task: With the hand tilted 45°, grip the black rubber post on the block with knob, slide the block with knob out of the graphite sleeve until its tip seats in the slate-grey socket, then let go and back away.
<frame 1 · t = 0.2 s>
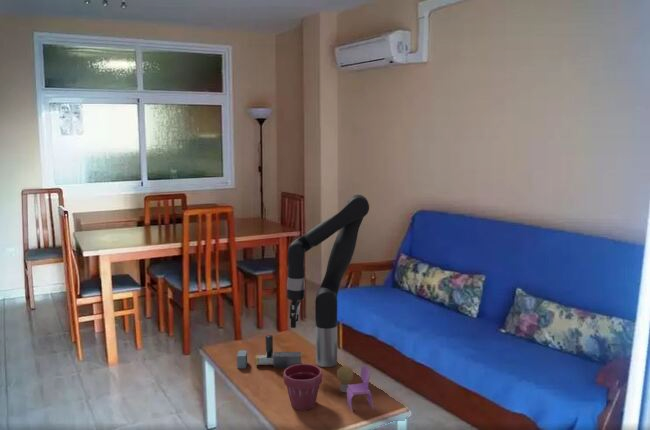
hand: (294, 324, 237), 18 cm above the table, tool pointing down, fingers open, 8 cm apart
sleeve: (287, 365, 238), on the table
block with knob: (277, 349, 237), point 7 cm above the table, slide at 0.0 cm
light bulb: (345, 391, 215), on the table
plant pot: (303, 404, 205), on the table
socket: (241, 365, 238), on the table
toy chair: (360, 407, 203), on the table
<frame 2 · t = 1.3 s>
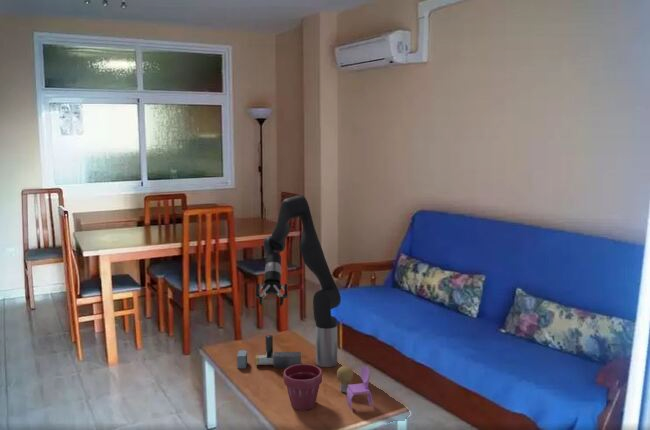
hand: (271, 305, 246), 23 cm above the table, tool tilted 45°, fingers open, 8 cm apart
nothing on the table moved.
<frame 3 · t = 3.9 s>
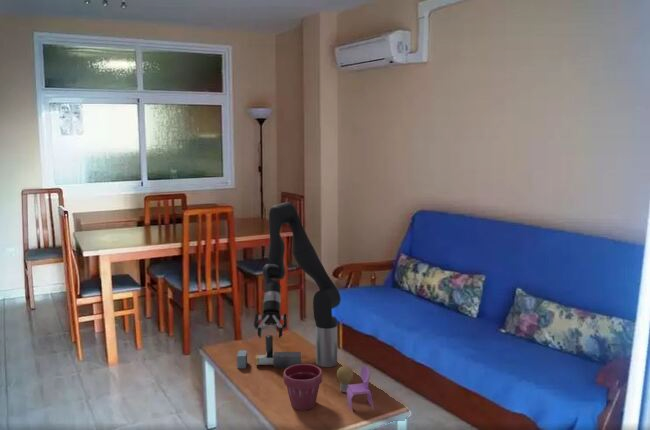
hand: (269, 337, 240), 11 cm above the table, tool tilted 45°, fingers open, 8 cm apart
nothing on the table moved.
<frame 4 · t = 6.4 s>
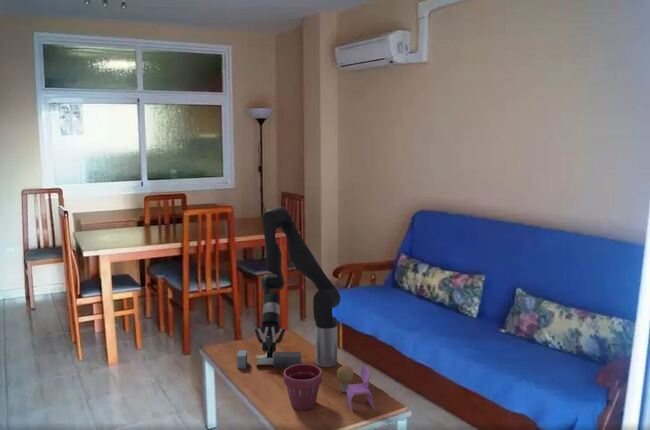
hand: (268, 351, 235), 7 cm above the table, tool tilted 45°, fingers closed on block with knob, 3 cm apart
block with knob: (277, 349, 237), point 7 cm above the table, slide at 0.0 cm, touching gripper
everything else where it was.
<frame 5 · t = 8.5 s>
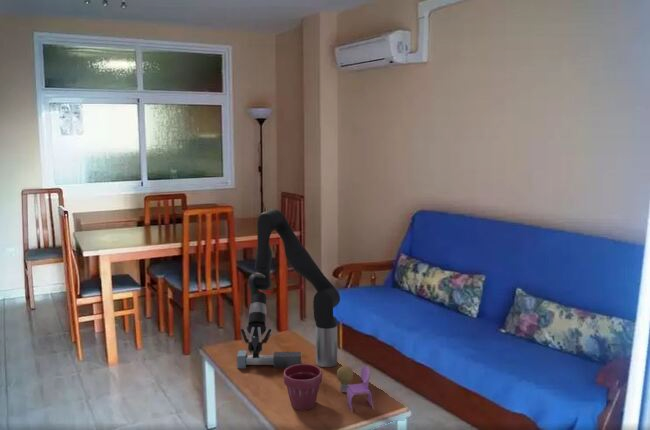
hand: (254, 351, 235), 7 cm above the table, tool tilted 45°, fingers closed on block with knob, 3 cm apart
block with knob: (263, 349, 237), point 7 cm above the table, slide at 6.0 cm, touching gripper
everything else where it was.
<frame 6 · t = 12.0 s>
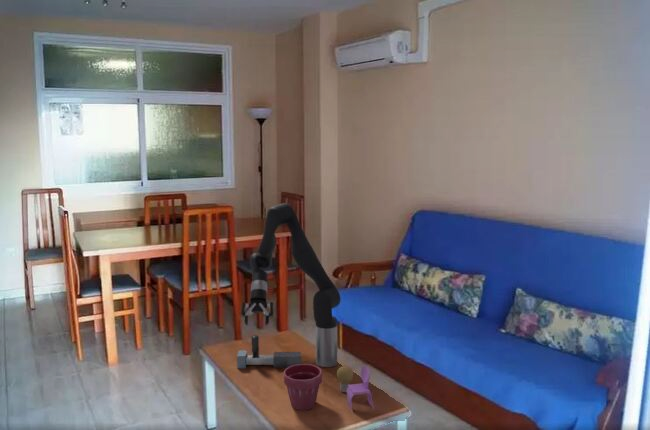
hand: (256, 324, 244), 15 cm above the table, tool tilted 45°, fingers open, 8 cm apart
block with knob: (263, 349, 237), point 7 cm above the table, slide at 6.0 cm
everything else where it was.
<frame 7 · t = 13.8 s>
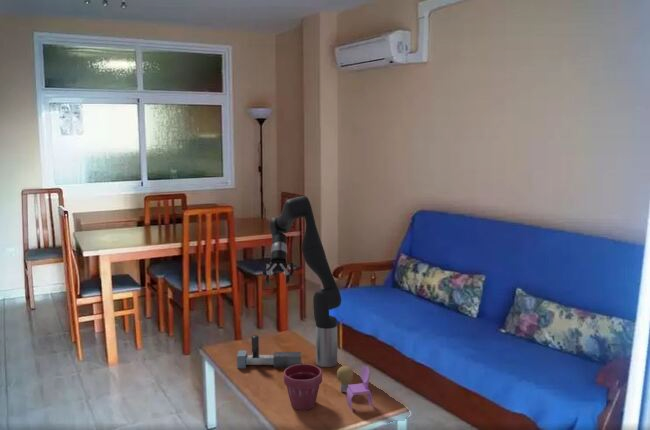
hand: (277, 283, 254), 30 cm above the table, tool tilted 45°, fingers open, 8 cm apart
nothing on the table moved.
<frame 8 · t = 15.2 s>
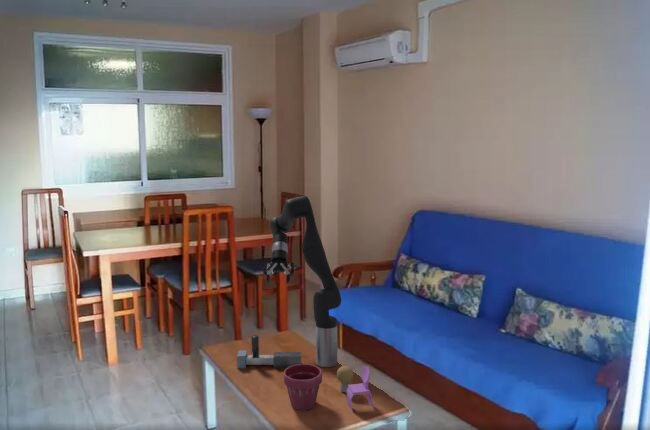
hand: (278, 283, 254), 31 cm above the table, tool tilted 45°, fingers open, 8 cm apart
nothing on the table moved.
at the end: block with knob slide at 6.0 cm; the gripper is holding nothing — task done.
